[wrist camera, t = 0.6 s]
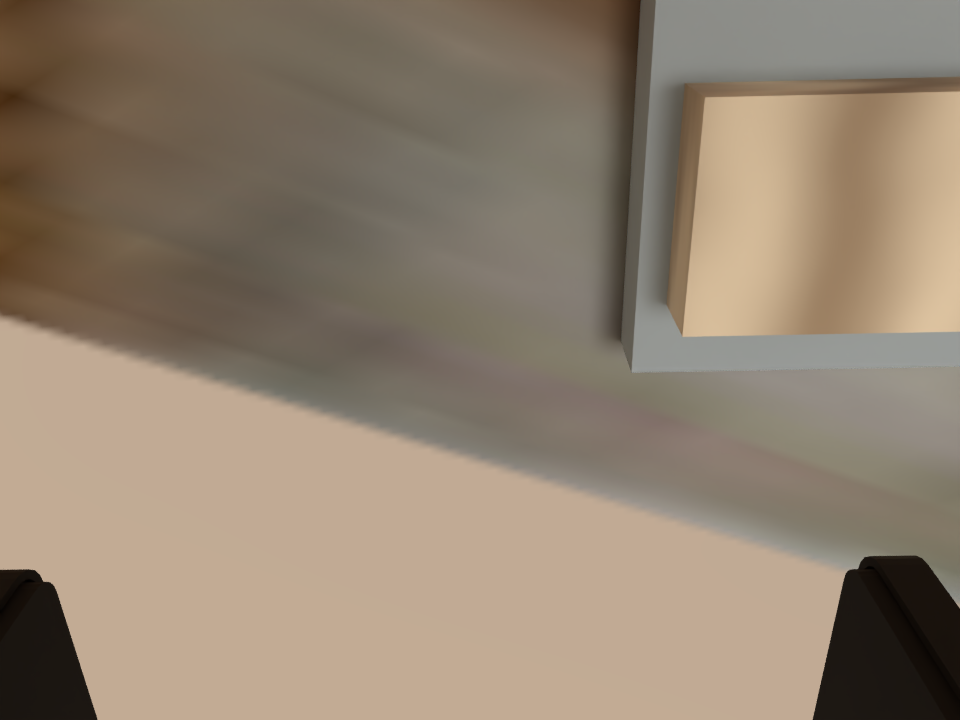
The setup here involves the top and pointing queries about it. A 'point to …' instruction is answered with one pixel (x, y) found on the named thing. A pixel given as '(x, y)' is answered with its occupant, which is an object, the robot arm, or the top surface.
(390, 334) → the top surface
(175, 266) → the top surface
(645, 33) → the block
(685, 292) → the birch tile
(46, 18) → the top surface
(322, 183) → the top surface
